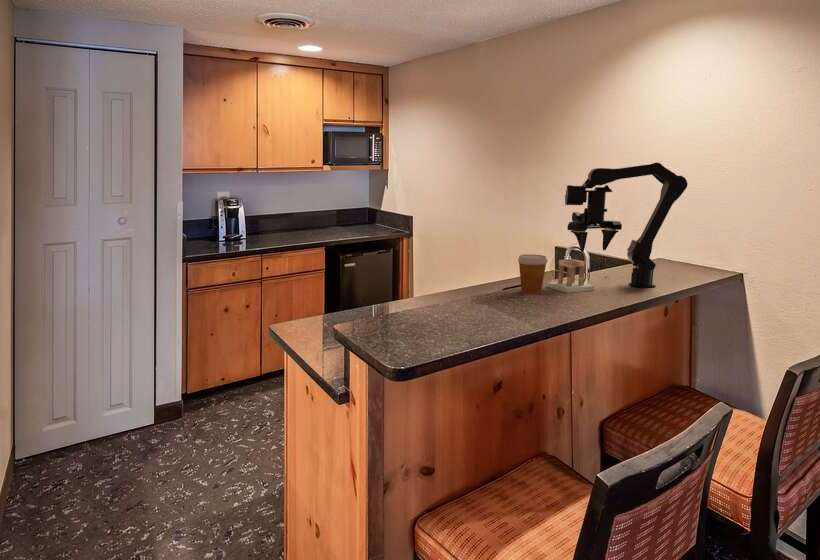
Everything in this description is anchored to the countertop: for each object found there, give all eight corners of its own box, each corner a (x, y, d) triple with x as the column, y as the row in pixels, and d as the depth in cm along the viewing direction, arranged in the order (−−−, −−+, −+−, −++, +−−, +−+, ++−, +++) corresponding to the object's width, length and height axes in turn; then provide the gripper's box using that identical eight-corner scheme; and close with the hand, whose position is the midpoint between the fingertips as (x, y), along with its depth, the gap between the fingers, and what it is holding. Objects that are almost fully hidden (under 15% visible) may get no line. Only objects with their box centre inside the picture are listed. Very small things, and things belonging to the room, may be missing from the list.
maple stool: (572, 282, 196) (573, 259, 194) (583, 285, 190) (585, 261, 189) (557, 283, 194) (559, 260, 192) (568, 286, 188) (570, 262, 187)
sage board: (573, 284, 199) (573, 280, 199) (594, 290, 189) (594, 286, 189) (547, 286, 196) (547, 282, 195) (566, 292, 185) (566, 288, 185)
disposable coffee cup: (544, 289, 190) (545, 254, 188) (548, 295, 181) (549, 258, 179) (515, 289, 191) (516, 254, 189) (517, 295, 182) (519, 258, 180)
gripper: (602, 203, 204) (600, 246, 207) (559, 204, 198) (556, 249, 201) (624, 205, 194) (621, 250, 197) (579, 206, 188) (576, 253, 191)
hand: (593, 250), depth 197 cm, fingers open, 9 cm apart
